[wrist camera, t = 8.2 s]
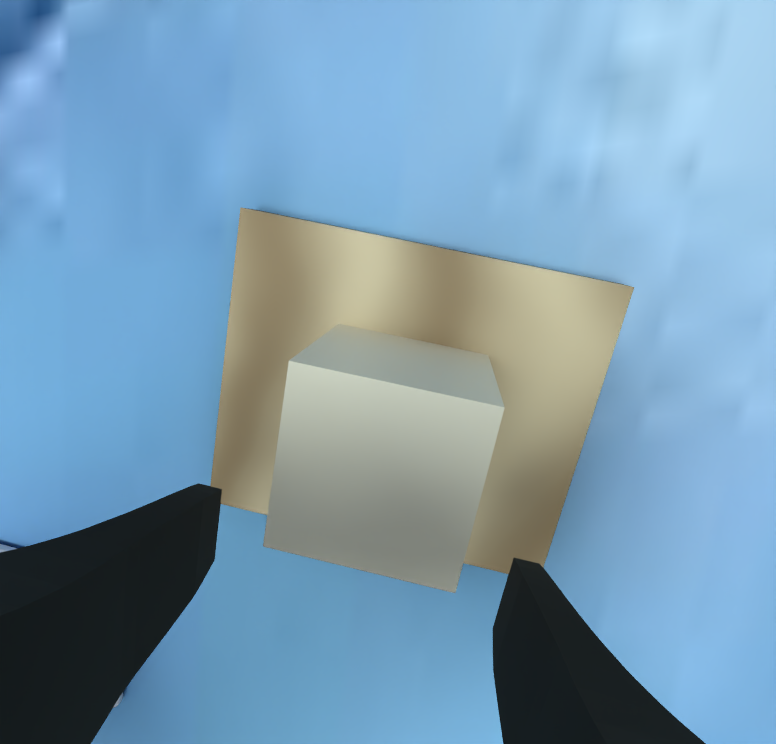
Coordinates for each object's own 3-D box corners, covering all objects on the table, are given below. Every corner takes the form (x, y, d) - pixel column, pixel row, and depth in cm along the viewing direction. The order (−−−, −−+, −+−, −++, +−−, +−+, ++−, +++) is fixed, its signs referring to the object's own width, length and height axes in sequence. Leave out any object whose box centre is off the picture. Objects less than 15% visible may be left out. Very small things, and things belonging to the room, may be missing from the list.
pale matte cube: (316, 459, 20) (262, 546, 15) (338, 323, 19) (288, 360, 13) (454, 490, 20) (455, 592, 14) (488, 354, 18) (504, 407, 13)
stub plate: (224, 484, 23) (168, 544, 18) (256, 210, 20) (197, 201, 15) (532, 559, 22) (553, 641, 17) (620, 283, 19) (673, 297, 14)
